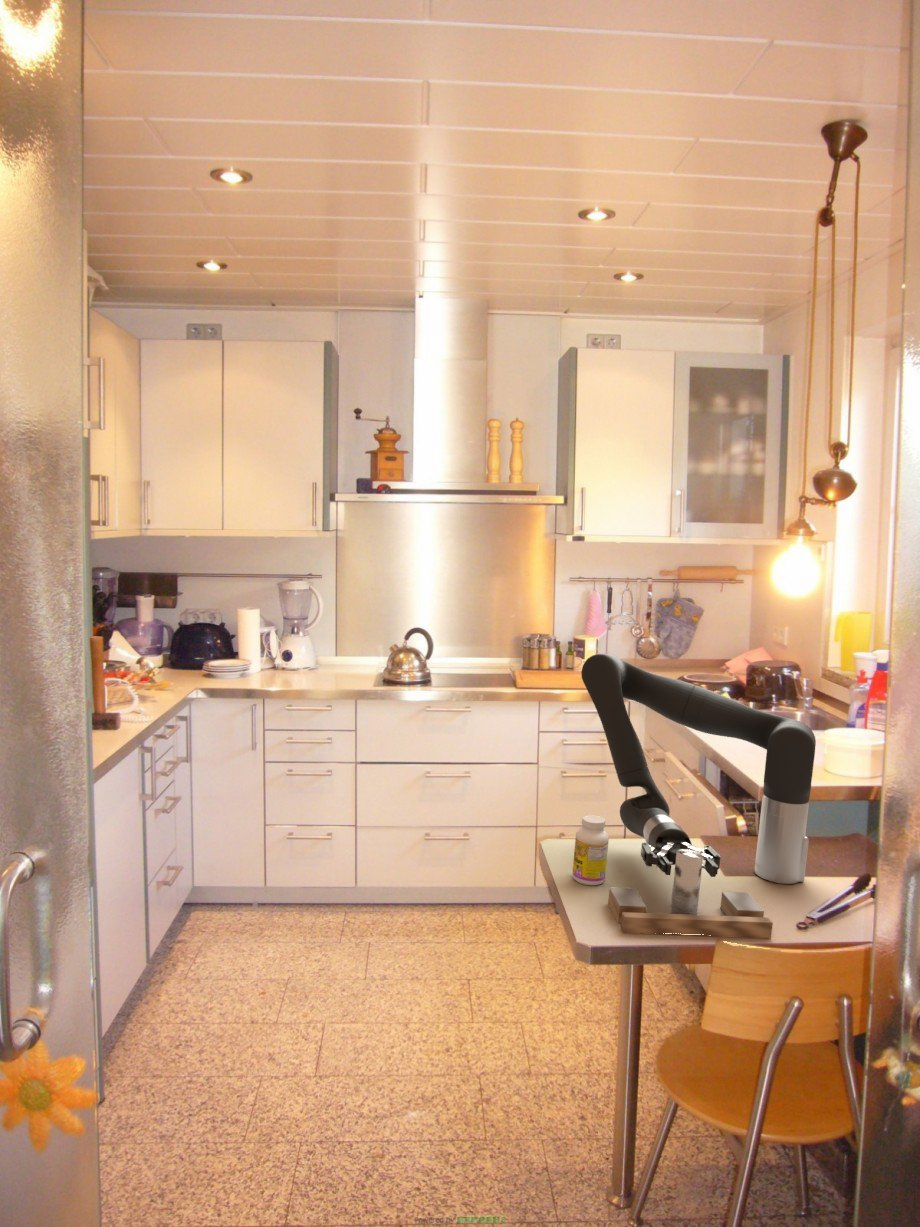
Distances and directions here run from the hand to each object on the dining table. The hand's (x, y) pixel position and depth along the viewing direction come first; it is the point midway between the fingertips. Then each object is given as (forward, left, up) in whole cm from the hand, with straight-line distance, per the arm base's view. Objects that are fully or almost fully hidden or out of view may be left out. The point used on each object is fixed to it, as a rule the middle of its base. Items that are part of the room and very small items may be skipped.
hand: (691, 871), depth 165 cm
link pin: (0, -2, -10) cm, 10 cm away
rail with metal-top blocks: (0, 0, -9) cm, 9 cm away
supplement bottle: (+15, -17, -10) cm, 25 cm away
